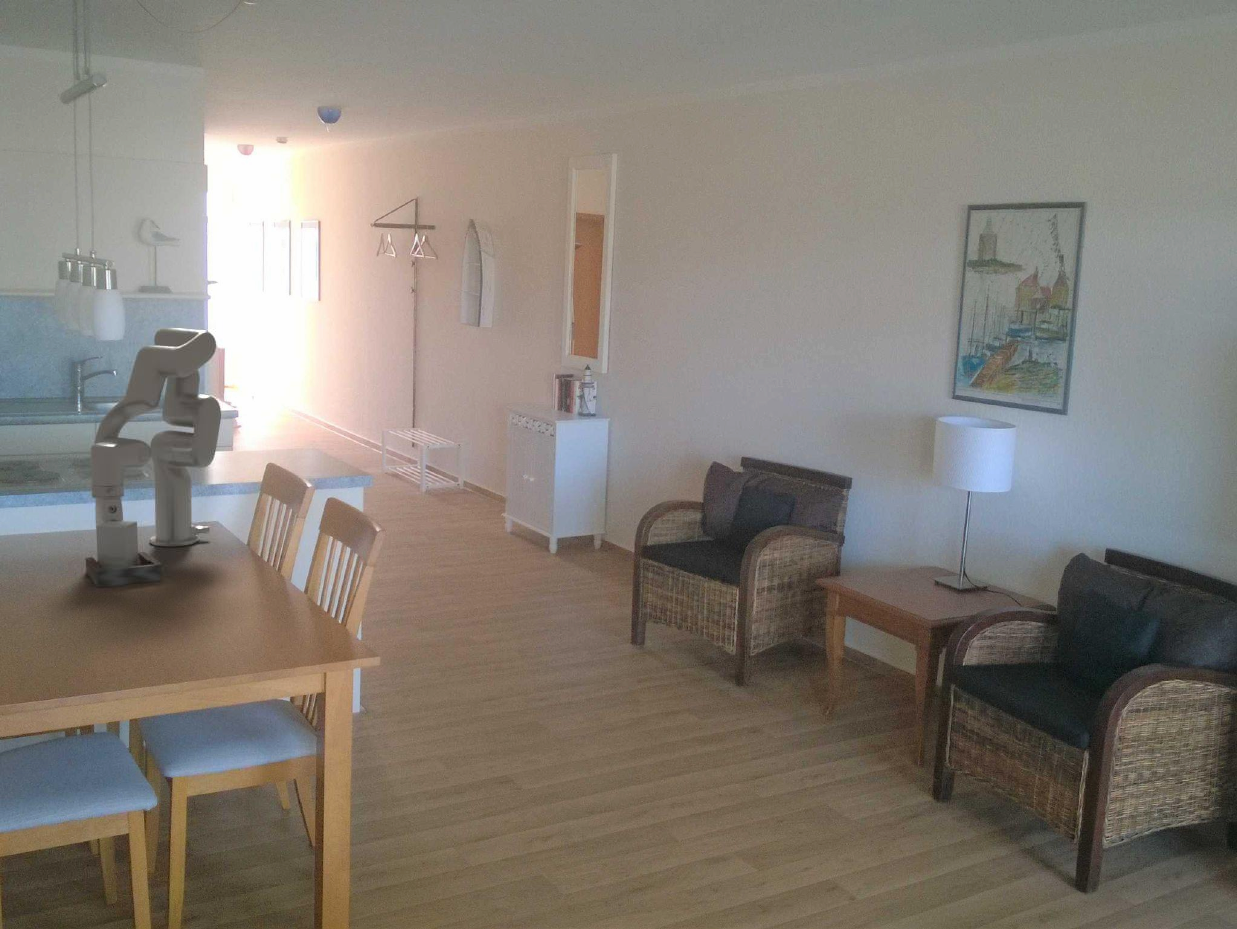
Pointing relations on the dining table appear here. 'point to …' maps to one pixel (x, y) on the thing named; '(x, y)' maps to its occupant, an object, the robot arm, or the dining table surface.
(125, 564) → the supplement box
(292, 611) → the dining table surface
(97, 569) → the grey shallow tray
